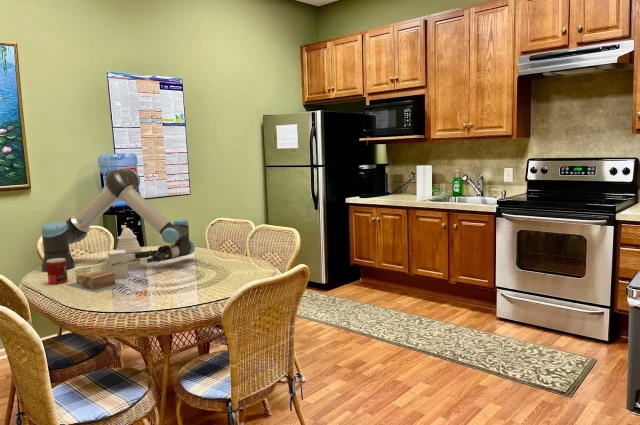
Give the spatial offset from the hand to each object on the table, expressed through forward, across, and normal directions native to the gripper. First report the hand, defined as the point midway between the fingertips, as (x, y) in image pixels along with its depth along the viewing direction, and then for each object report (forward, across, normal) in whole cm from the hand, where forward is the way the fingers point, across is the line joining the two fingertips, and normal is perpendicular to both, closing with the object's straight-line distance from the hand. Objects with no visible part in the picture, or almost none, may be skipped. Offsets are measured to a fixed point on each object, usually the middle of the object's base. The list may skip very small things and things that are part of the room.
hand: (131, 260), depth 235 cm
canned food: (+27, -16, +7) cm, 32 cm away
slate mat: (+21, +4, +7) cm, 23 cm away
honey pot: (-24, -37, +7) cm, 45 cm away
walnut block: (+21, +6, +6) cm, 23 cm away
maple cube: (+22, -4, +6) cm, 24 cm away
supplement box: (+7, 0, +7) cm, 10 cm away
